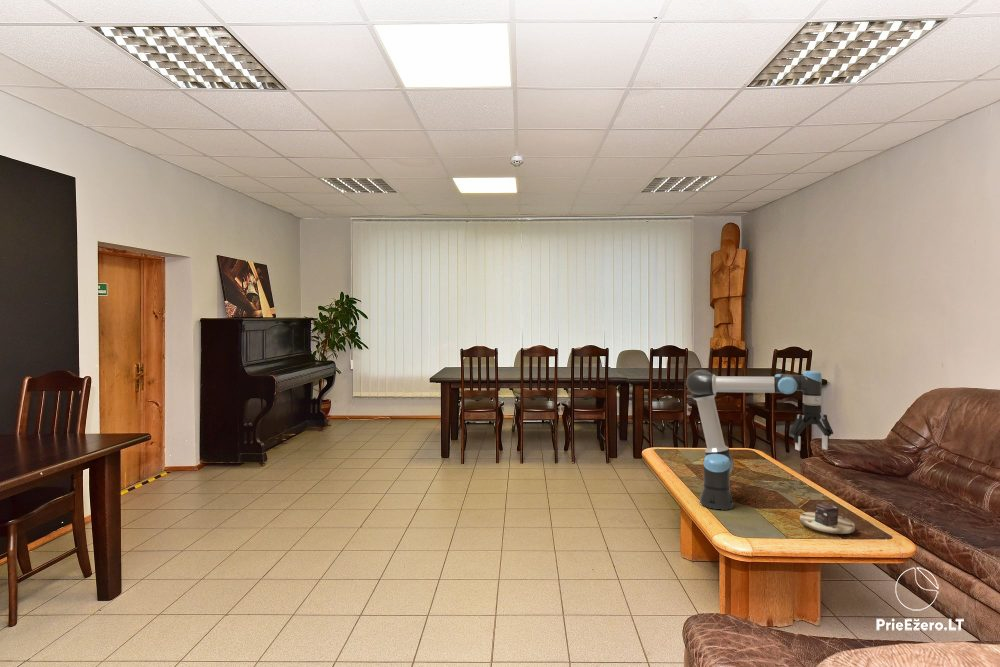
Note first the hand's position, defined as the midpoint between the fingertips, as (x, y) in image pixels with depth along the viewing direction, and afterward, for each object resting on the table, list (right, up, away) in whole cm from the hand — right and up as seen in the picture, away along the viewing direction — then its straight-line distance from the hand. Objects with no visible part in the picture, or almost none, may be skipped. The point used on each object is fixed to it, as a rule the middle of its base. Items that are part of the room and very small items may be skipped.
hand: (811, 449), depth 253 cm
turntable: (-6, -28, -21) cm, 35 cm away
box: (-8, -26, -25) cm, 37 cm away
